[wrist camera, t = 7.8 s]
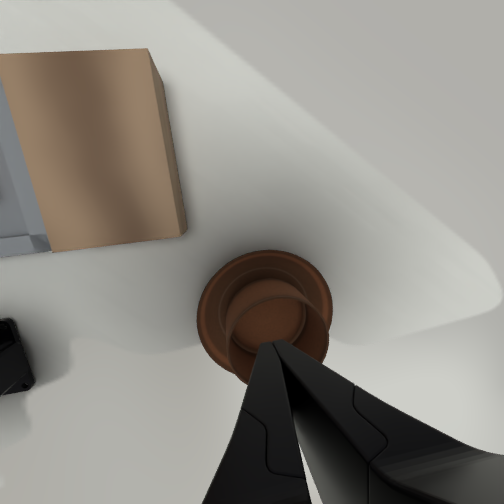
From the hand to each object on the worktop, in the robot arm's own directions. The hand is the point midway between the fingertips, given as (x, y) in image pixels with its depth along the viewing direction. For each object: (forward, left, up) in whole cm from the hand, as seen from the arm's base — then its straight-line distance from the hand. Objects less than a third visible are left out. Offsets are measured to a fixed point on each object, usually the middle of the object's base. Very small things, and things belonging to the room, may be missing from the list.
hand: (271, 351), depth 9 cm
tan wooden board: (-8, +9, -13) cm, 18 cm away
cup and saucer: (+2, -5, -13) cm, 14 cm away
